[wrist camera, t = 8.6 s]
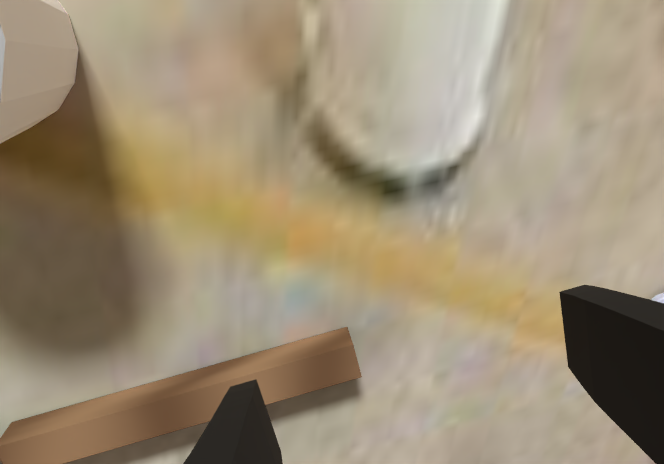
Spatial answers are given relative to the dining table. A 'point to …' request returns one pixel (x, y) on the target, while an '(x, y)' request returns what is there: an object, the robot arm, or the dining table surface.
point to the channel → (177, 401)
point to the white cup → (34, 62)
